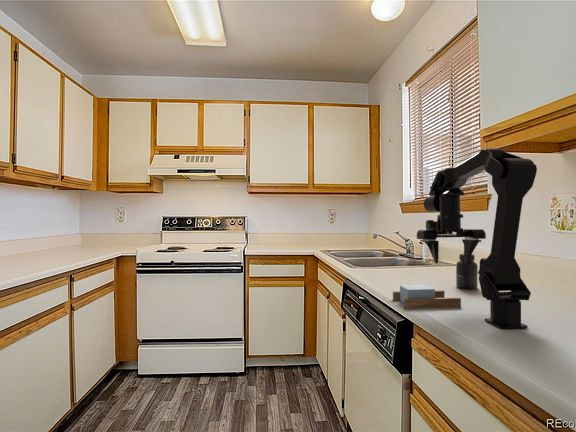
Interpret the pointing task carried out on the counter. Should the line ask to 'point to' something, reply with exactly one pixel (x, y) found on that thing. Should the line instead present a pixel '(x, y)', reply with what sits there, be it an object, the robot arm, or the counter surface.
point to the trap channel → (430, 301)
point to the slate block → (416, 292)
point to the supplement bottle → (466, 273)
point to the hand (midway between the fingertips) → (451, 263)
